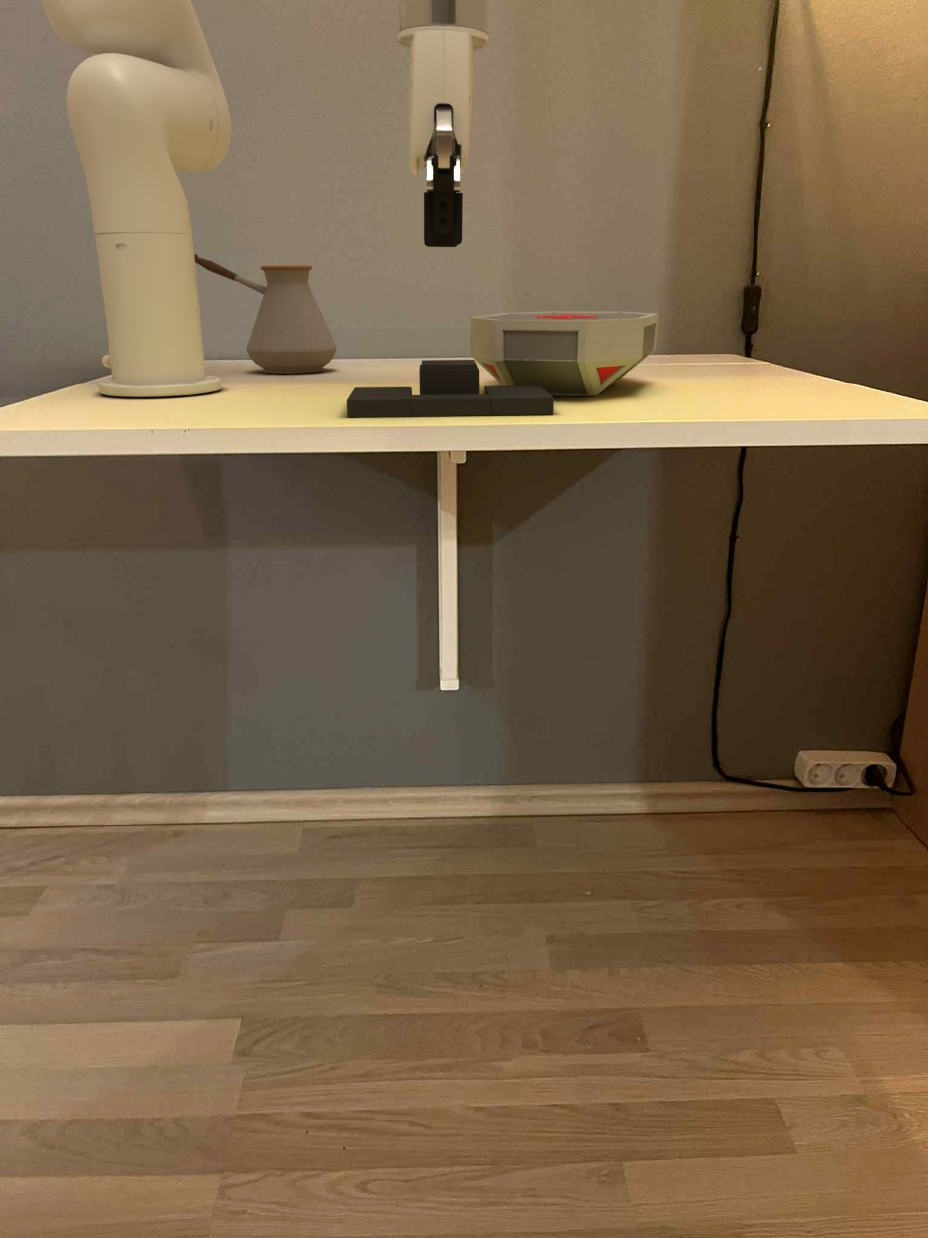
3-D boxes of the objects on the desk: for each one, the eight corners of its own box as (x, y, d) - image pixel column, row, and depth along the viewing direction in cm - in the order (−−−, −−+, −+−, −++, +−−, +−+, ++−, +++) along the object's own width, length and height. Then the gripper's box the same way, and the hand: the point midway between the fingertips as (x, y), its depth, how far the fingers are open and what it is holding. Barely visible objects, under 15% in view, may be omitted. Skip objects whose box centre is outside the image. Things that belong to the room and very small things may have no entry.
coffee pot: (351, 368, 127) (345, 247, 122) (315, 376, 117) (307, 245, 112) (209, 365, 133) (198, 250, 128) (163, 373, 122) (149, 248, 117)
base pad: (347, 417, 82) (346, 399, 82) (355, 402, 92) (354, 387, 91) (553, 414, 83) (553, 397, 83) (540, 400, 92) (540, 384, 92)
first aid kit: (629, 404, 89) (660, 378, 111) (634, 321, 86) (664, 311, 109) (451, 399, 94) (515, 375, 116) (451, 319, 91) (516, 311, 114)
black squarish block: (420, 410, 86) (419, 365, 85) (420, 402, 91) (419, 360, 90) (479, 409, 87) (479, 364, 85) (476, 402, 92) (476, 359, 90)
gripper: (400, 45, 86) (402, 246, 92) (394, -6, 70) (397, 242, 76) (482, 47, 87) (479, 248, 93) (495, -4, 71) (490, 244, 76)
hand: (442, 245), depth 84 cm, fingers open, 9 cm apart
